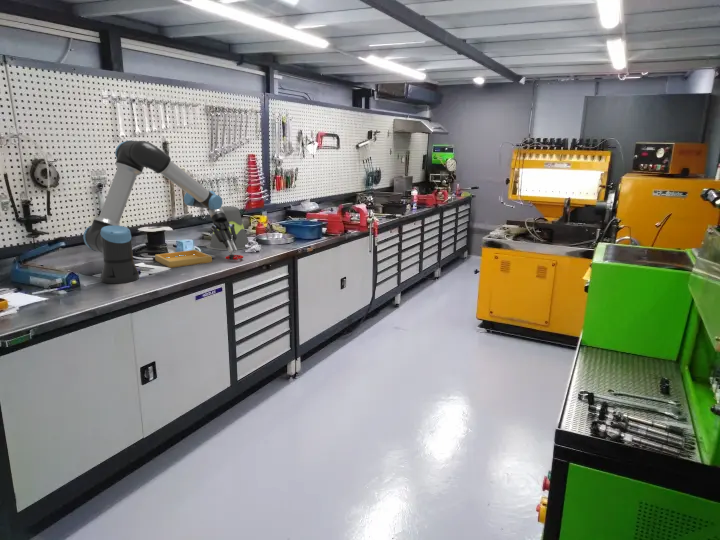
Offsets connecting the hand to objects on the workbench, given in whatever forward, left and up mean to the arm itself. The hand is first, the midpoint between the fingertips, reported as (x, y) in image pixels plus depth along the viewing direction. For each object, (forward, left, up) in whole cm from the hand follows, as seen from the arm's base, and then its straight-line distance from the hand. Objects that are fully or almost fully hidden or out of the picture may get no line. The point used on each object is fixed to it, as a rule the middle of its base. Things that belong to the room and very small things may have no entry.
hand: (233, 251), depth 249 cm
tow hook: (+3, +4, -5) cm, 7 cm away
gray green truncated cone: (+19, +42, -6) cm, 46 cm away
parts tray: (-20, +17, -6) cm, 27 cm away
